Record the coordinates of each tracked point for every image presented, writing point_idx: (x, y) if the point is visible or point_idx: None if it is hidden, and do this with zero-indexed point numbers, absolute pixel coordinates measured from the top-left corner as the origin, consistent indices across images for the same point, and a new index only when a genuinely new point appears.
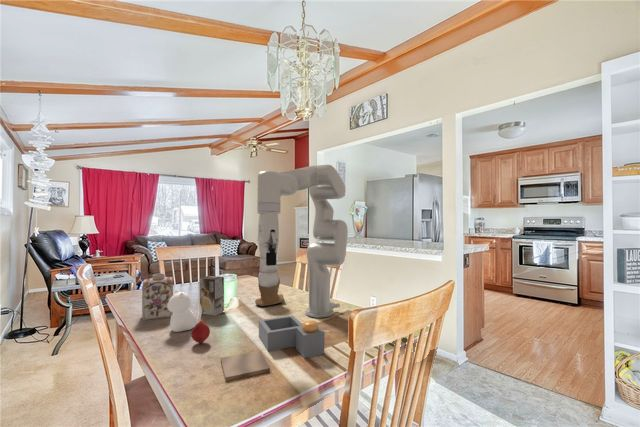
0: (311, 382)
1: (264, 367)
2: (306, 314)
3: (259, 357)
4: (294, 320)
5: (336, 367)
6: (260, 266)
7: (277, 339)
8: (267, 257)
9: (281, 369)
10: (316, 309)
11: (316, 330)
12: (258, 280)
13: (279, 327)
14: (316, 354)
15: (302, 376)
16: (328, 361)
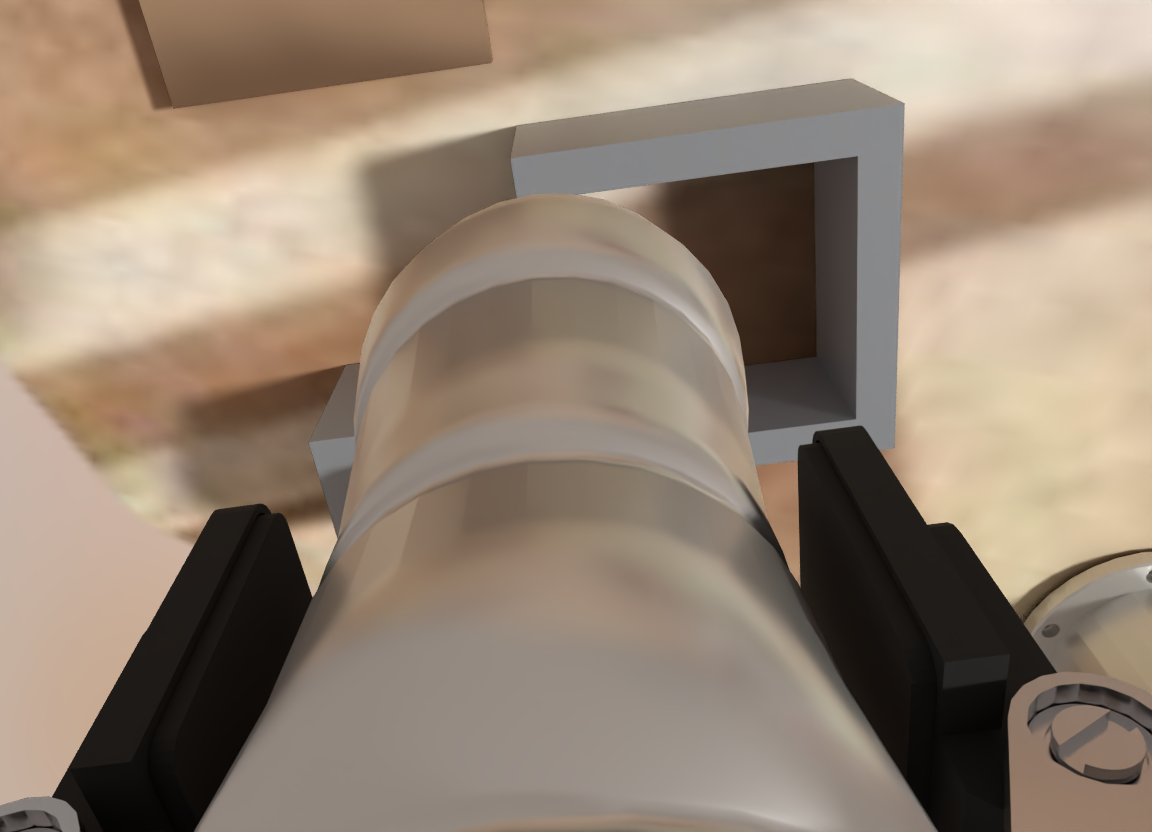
0: (26, 342)
1: (186, 67)
2: (1146, 553)
3: (359, 43)
4: None
5: (192, 515)
6: (495, 349)
7: None
8: (144, 672)
9: (207, 190)
10: (1094, 651)
11: None
12: (531, 199)
13: (832, 286)
14: None
15: (100, 307)
16: (275, 495)
